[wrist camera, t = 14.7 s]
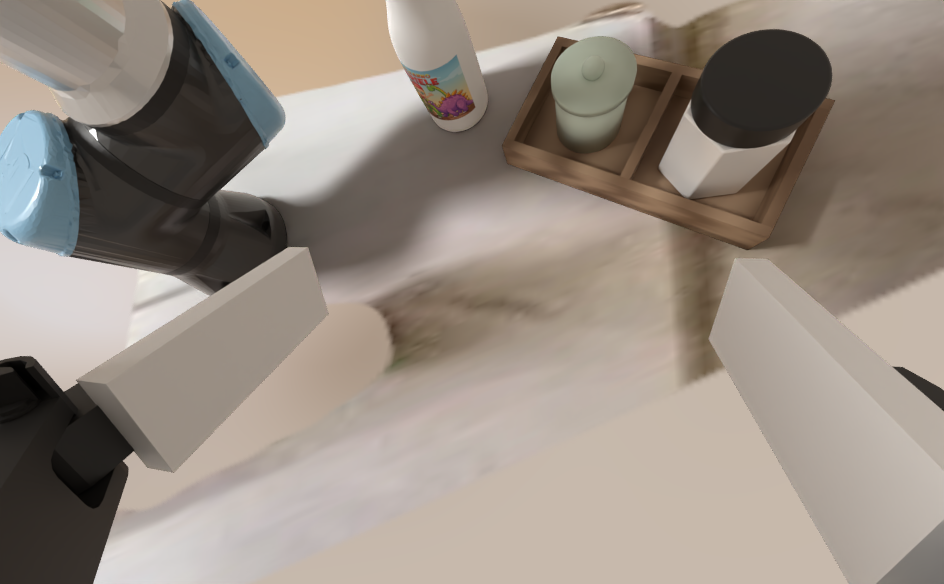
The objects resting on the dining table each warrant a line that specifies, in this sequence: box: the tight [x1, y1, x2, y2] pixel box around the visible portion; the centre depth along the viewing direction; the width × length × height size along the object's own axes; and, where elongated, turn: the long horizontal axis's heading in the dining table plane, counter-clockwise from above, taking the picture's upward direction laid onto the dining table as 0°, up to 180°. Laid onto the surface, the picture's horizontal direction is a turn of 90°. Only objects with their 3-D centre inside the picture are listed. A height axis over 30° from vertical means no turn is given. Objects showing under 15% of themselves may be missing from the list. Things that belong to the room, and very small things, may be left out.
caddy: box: [502, 37, 835, 250], centre depth 38 cm, size 27×14×4 cm, turn 62°
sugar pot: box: [551, 36, 637, 153], centre depth 37 cm, size 8×8×10 cm
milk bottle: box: [386, 0, 488, 132], centre depth 38 cm, size 8×8×20 cm
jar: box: [658, 29, 832, 200], centre depth 32 cm, size 9×8×12 cm
